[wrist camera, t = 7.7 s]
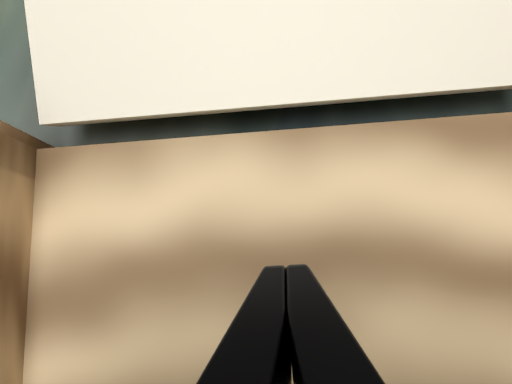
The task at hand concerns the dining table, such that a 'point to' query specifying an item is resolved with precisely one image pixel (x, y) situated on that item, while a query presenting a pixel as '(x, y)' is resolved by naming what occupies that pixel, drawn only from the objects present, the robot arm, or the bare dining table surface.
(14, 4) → the dining table surface
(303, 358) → the robot arm
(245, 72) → the tailgate
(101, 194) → the cart bed
